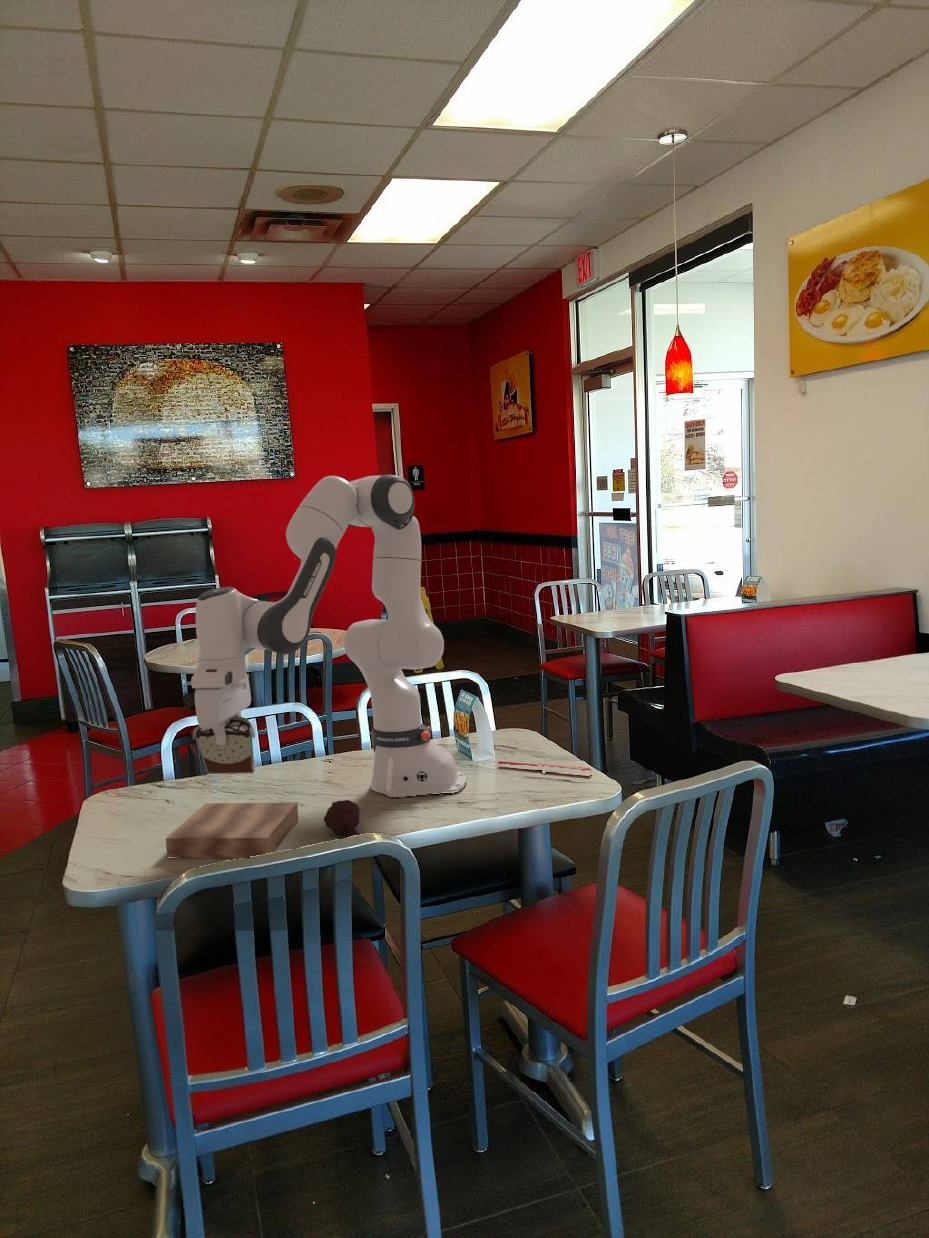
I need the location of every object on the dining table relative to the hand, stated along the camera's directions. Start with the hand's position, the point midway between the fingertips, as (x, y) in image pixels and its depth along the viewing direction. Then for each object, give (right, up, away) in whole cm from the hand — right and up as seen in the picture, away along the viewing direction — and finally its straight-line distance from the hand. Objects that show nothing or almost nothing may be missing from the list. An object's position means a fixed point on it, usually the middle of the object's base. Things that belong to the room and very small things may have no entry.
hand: (228, 739), depth 178 cm
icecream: (+22, -20, +3) cm, 30 cm away
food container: (0, -6, +3) cm, 7 cm away
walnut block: (+1, -20, +3) cm, 20 cm away
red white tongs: (+66, -13, +38) cm, 77 cm away
